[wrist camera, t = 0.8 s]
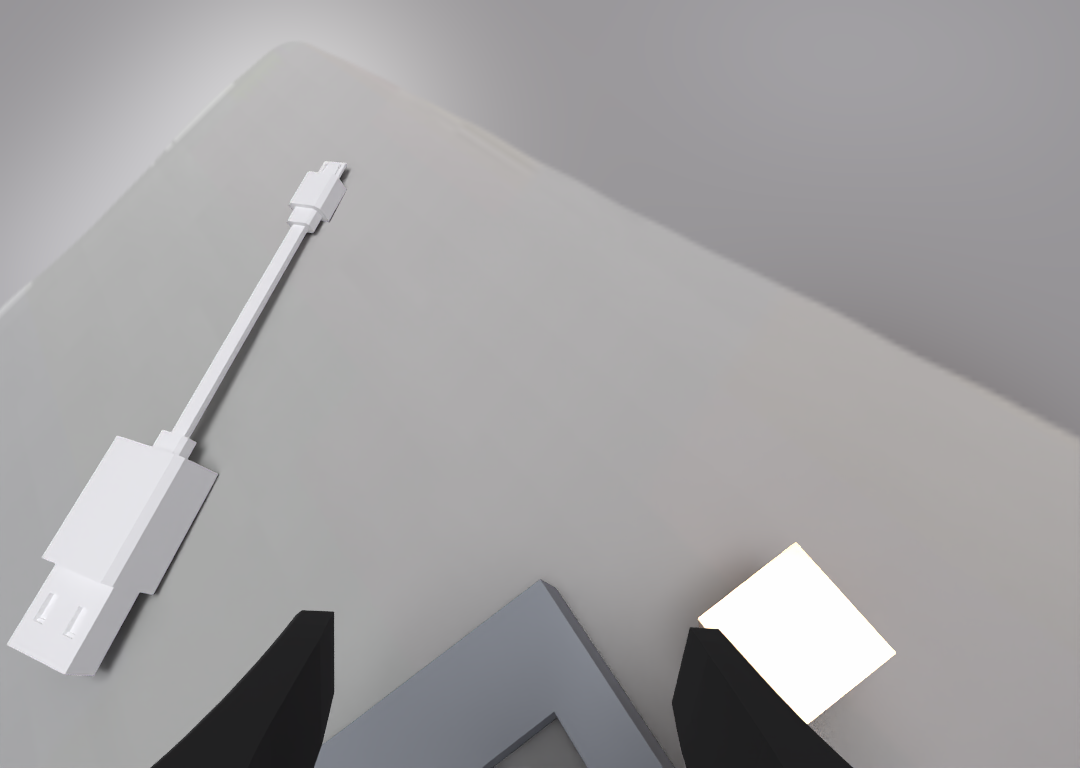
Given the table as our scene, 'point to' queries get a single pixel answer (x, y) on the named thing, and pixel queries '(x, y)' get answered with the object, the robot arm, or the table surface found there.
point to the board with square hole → (502, 699)
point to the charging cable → (145, 493)
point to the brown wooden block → (799, 633)
